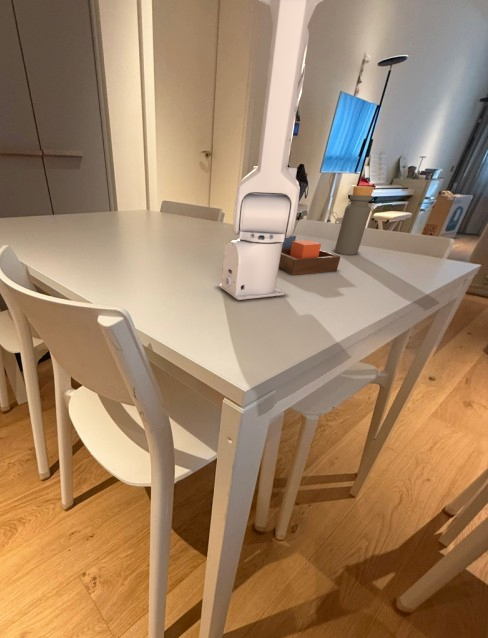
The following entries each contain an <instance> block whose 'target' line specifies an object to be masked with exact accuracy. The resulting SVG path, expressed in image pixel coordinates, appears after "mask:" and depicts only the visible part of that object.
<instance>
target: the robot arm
mask: <svg viewBox="0 0 488 638" xmlns="http://www.w3.org/2000/svg"><path fill="white" fill-rule="evenodd" d="M257 1H258V2H260V3H262V4H263V5H266V6H268V7H269V10H270V17H271V24H272V29H271V30H272V31H271V33H272V34H271V39H270V40H271V41H270V49H269V56H268V57H269V58H268V66H267V67H268V68H267V77H266V83H265V84H266V86H265V93H264V104H263V112H262V120H261V121H262V122H261V131H260V139H259V148H258V157H257V166H256V165H254V166H253V168H252V170H251V172H249V173H248V174H247V175H245V176H244V177H243V178H242V179H241V180H240V182H239V184H238V185H237V188H236V197H235V203H234V208H233V221H232V230H233V232H234V234H235V235H237V236H238V239H236V240H231V241H229V242H227V243H226V245H225V248H224V252H223V260H222V273H221V274H222V275H221V283H219V287H220V288H221V289H222V290H223V291H225V292H226V293H227V294H229V295H230V296H232V297H233V298H234V299H236V300H238V301H241V300H251V299H260V298H261V299H262V298H269V297H278V296H279V297H280V296H284V295H285V291H283V290H281V289H279V288H278V287H277V286H276V285H277V279H278V273H279V262H280V256H281V250H282V245H283V242H284V238H289V236H291V235H293V233H294V229H295V226H296V220H297V214H298V210H299V209H298V208H299V202H300V201H299V199H300V192H301V191H300V190H301V187H300V183H299V181H298V180H297V172H298V168H297V167H288V166H289V159H290V153H291V147H292V142H293V141H292V140H293V136H294V135H293V134H294V128H295V122H296V114H297V112H298V107H299V103H300V102H299V101H300V99H301V97H302V93H303V87H304V82H305V81H304V80H305V73H306V63H305V62H306V57H307V51H308V46H309V45H308V44H309V40H310V33H309V27H308V26H309V23H310V21H311V18H312V16H313V14H314V12H315V9H316V7H317V5H319V4H321V3H322V2H324V1H325V0H257ZM285 233H286V234H285Z"/></svg>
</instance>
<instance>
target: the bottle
mask: <svg viewBox="0 0 488 638" xmlns="http://www.w3.org/2000/svg"><path fill="white" fill-rule="evenodd" d="M374 189H375V186H369V185H354V186H353V189H352V194H350V196H349V200H350V204H348V205H346V206H345V208H344V212H343V217H342V220H341V224H340V228H339V232H338V236H337V239H336V243H335V246H334V252H335V253H336V254H341V255H348V256H349V255H350V256H351V255H352V256H353V255H357V254H358V252H359V249H360V246H361V243H362V240H363V236H364V233H365V229H366V226H367V223H368V219H369V216H370V212H371V207H370V205H369V202H370V201H372V200H373V195H372V194H373V193H374Z"/></svg>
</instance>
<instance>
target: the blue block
mask: <svg viewBox="0 0 488 638" xmlns="http://www.w3.org/2000/svg"><path fill="white" fill-rule="evenodd" d="M285 234H286V233H285ZM296 238H297V236H296V235H294V234H292V235H291V236H289V238H284V242H283V245H282V249H283V248H292V242H293V241H296Z"/></svg>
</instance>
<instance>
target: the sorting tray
mask: <svg viewBox="0 0 488 638" xmlns="http://www.w3.org/2000/svg"><path fill="white" fill-rule="evenodd" d="M290 253H291V248H283V249H282V250H281V256H280V262H279V268H278V270H281V271H283V272H285V273H288V274H290V275H292V276H297V275H298V276H299V275H308V274H318V273H331V272H337V271H338V267H339V264H340V260H341V255H339V254H338V255H337V254H335V253H331V252H330V251H326V250H324V249H320V251H319V256H318V257H314V258H300V259H296V258H294V257H291V256H290Z"/></svg>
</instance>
